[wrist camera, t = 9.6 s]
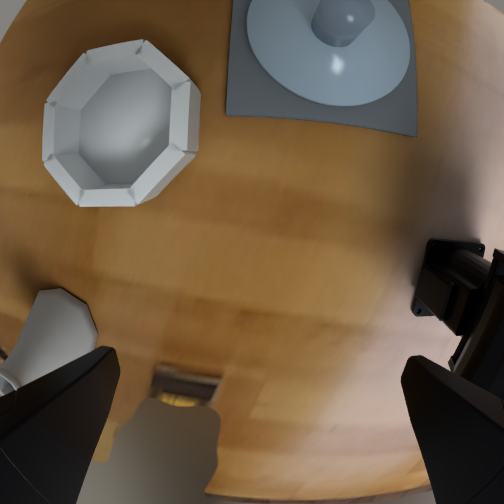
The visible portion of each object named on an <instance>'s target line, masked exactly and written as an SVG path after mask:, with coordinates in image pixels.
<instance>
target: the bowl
mask: <svg viewBox="0 0 504 504" xmlns="http://www.w3.org/2000/svg"><path fill="white" fill-rule="evenodd" d="M199 91H200V90H199V89H198V88H197V86H196V85H195V84H194V83H193V82H192V81H191V79H190V78H189V77H188V76H187V75H186V74H184V73H183V72H182V71H181V70H180V69H179V68H178V67H177V66H176V65H175V64H173V63H172V62H171V61H170V60H169V59H168V58H167V57H166V56H165V55H163V54H162V53H161V52H160V51H159V50H158V49H157V48H155V47H154V46H153V45H152V44H151V43H150V42H148V41H147V40H146V41H145V40H144V39H141V40H135V41H129V42H123V43H118V44H113V45H108V46H104V47H100V48H95V49H91V50H87V53H86V54H85V53H83V54H82V55H81V56H80V57H79V59H78V60H77V61H76V62H75V63H74V65H73V66H72V67H71V68H70V69H69V71H68V72H67V73H66V74H65V76H64V77H63V78H62V79H61V81H60V82H59V83H58V85H57V86H56V87H55V89H54V90H53V91H52V93H51V94H50V95H49V97H48V98H47V100H46V101H47V102H48V103H45V107H44V121H43V145H42V161H45V163H44V164H43V165H44V166H45V167H46V169H47V170H48V171H49V173H50V174H51V175H52V176H53V178H54V179H55V180H56V181H57V183H58V184H59V185H60V186H61V187H62V189H63V190H64V191H65V192H66V193H67V195H68V196H69V197H70V198H71V199H72V201H73V202H74V203H75V204H76V205H79V207H93V206H136V205H138V204H141V203H143V202H145V201H148V200H150V199H152V198H154V197H156V196H157V195H158V194H159V193H160V192H161V191H162V190H163V189H164V188H165V187H166V186H167V185H168V184H169V183H170V182H171V180H172V179H173V178H174V177H175V176H176V175H177V174H178V173H179V172H180V171H181V170H182V169H183V168H184V167H185V166H186V165H187V164H188V163H189V162H190V161H191V160H192V159H193V158H194V157H195V156H196V154H195V153H194V152H198V148H199V123H200V104H201V93H200V92H199Z"/></svg>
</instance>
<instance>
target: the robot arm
mask: <svg viewBox="0 0 504 504" xmlns="http://www.w3.org/2000/svg"><path fill="white" fill-rule="evenodd" d="M434 243H435V245H434V247H433V248H432V245H433V244H434ZM480 248H481V249H480ZM479 249H480V250H479ZM484 252H485V246H484V244H482V243H478V242H468V241H457V240H445V239H434V238H433V239H430V240H429V241H428V243H427V247H426V253H425V258H424V263H423V266H422V269H421V273H420V278H419V282H418V286H417V290H416V297H415V301H414V304H413V308H412V313H413V314H414V315H415V316H417V317H419V316H436V317H437V318H438V319H439V320H440V321H443V322H444V324H445V325H446V326H447V327H448V328H449V329H450V330H451V331H452V332H453V333H454V334H455V335H456V336H461V337H462V338H461V341H460V343H459V345H458V347H457V349H456V351H455V353H454V354H453V356H451V358H450V360H449V361H448V364H449V367H450V370H451V371H449V370H447V369H445V368H444V367H442V366H440V365H438V364H436V363H435V362H433V361H431V360H429V359H427V358H425V357H424V356H422V355H417V356H411V357H409V358H408V360H407V363H406V365H405V368H404V371H403V373H402V376H401V385H402V389H403V393H404V397H405V401H406V405H407V409H408V413H409V417H410V421H411V424H412V427H413V430H414V433H415V436H416V438H417V441H418V444H419V447H420V451H421V454H422V457H423V460H424V463H425V466H426V470H427V473H428V476H429V480H430V483H431V486H432V490H433V494H434V497H435V501H436V504H504V251H502V250H499V249H496V248H495V249H494V253H493V260H492V263H491V262H489V261H487V260H486V259H484V258H483V256H484ZM418 309H419V311H417V310H418ZM119 377H120V366H119V362H118V358H117V354H116V350H115V349H114V348H113V347H108V346H100V347H98V348H96V349H95V350H93V351H91V352H89V353H87V354H85V355H83V356H81V357H79V358H77V359H75V360H73V361H71V362H69V363H67V364H65V365H63V366H61V367H59V368H57V369H55V370H53V371H51V372H49V373H48V374H46V375H44V376H42V377H40V378H38V379H36V380H34V381H32V382H30V383H28V384H26V385H24V386H22V387H20V388H18V389H17V390H13V391H12V392H10V393H8V394H5V395H3V396H1V397H0V504H76V502H77V499H78V496H79V493H80V490H81V487H82V484H83V481H84V478H85V476H86V473H87V470H88V467H89V465H90V462H91V459H92V456H93V454H94V451H95V448H96V446H97V443H98V441H99V438H100V435H101V433H102V430H103V428H104V425H105V423H106V420H107V418H108V415H109V412H110V409H111V405H112V401H113V398H114V394H115V391H116V387H117V384H118V380H119Z"/></svg>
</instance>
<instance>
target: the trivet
mask: <svg viewBox="0 0 504 504" xmlns="http://www.w3.org/2000/svg"><path fill="white" fill-rule="evenodd" d="M251 1H252V0H233V10H232V23H231V37H230V51H229V66H228V83H227V101H226V116H245V117H268V118H284V119H296V120H307V121H317V122H326V123H334V124H341V125H349V126H355V127H362V128H368V129H374V130H379V131H385V132H390V133H395V134H400V135H405V136H410V137H417V73H416V57H415V45H414V35H413V27H412V19H411V12H410V5H409V0H388V1H389V2H390V3H391V4H392V6H393V7H394V8H395V10H396V11H397V12H398V14H399V16H400V17H401V19H402V21H403V23H404V25H405V28H406V30H407V34H408V37H409V43H410V59H409V65H408V68H407V71H406V73H405V75H404V77H403V79H402V80H401V81H400V83H399V84H398V85H397V86H396V87H395V88H394V89H393V90H392V91H391V92H390V93H388V94H387V95H385V96H383V97H381V98H379V99H377V100H375V101H372V102H370V103H367V104H363V105H360V106H354V107H331V106H325V105H320V104H316V103H313V102H310V101H307V100H304V99H302V98H300V97H298V96H296V95H294V94H292V93H290V92H288V91H287V90H285V89H284V88H283V87H281V86H280V85H278V84H277V83H276V82H275V81H274V80H273V79H271V78H270V77H269V76H268V75H267V73H266V72H265V71H264V70H263V69H262V68H261V66H260V65H259V63H258V62H257V60H256V58H255V56H254V54H253V52H252V50H251V47H250V44H249V40H248V34H247V15H248V10H249V7H250V4H251Z"/></svg>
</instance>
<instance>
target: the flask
mask: <svg viewBox="0 0 504 504" xmlns="http://www.w3.org/2000/svg"><path fill="white" fill-rule="evenodd" d="M97 337H98V333H97V330H96V328H95V325H94V323H93V320H92V317H91V315H90V312H89V309H88V306H87V305H86V304H84V303H83V302H81V301H80V300H78V299H77V298H75V297H73V296H72V295H70V294H69V293H67V292H66V291H64V290H63V289H61V288H59V289H50V290H40V291H39V292H38V294H37V297H36V299H35V301H34V303H33V306H32V308H31V310H30V313H29V315H28V318H27V320H26V322H25V325H24V327H23V329H22V332H21V334H20V336H19V339H18V341H17V343H16V345H15V347H14V348H13V350H12V351H11V353H10V355H9V356H8V358H7V359H6V360H5V361H4V362H3V364H2V365H1V366H0V394H1V395H2V396H3V395H5V394H8V393H10V392H12V391H13V390H17V389H18V388H20V387H22V386H24V385H26V384H28V383H30V382H32V381H34V380H36V379H38V378H40V377H42V376H44V375H46V374H48V373H49V372H51V371H53V370H55V369H57V368H59V367H61V366H63V365H65V364H67V363H69V362H71V361H73V360H75V359H77V358H79V357H81V356H83V355H85V354H87V353H89V352H91V351H93V350H94V348H95V344H96V340H97Z"/></svg>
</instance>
